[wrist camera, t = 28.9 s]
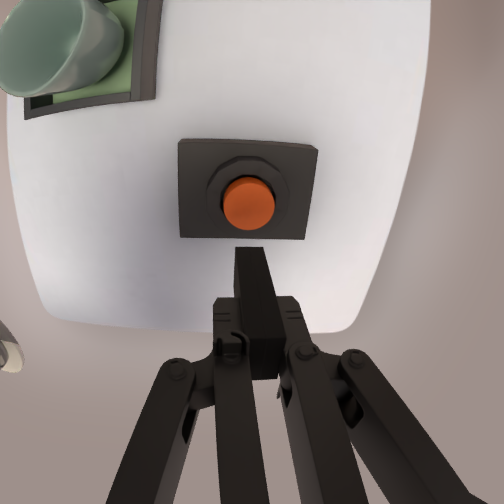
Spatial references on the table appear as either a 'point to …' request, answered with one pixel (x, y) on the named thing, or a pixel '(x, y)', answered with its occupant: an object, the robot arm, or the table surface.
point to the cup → (58, 46)
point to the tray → (116, 65)
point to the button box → (239, 166)
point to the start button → (248, 203)
